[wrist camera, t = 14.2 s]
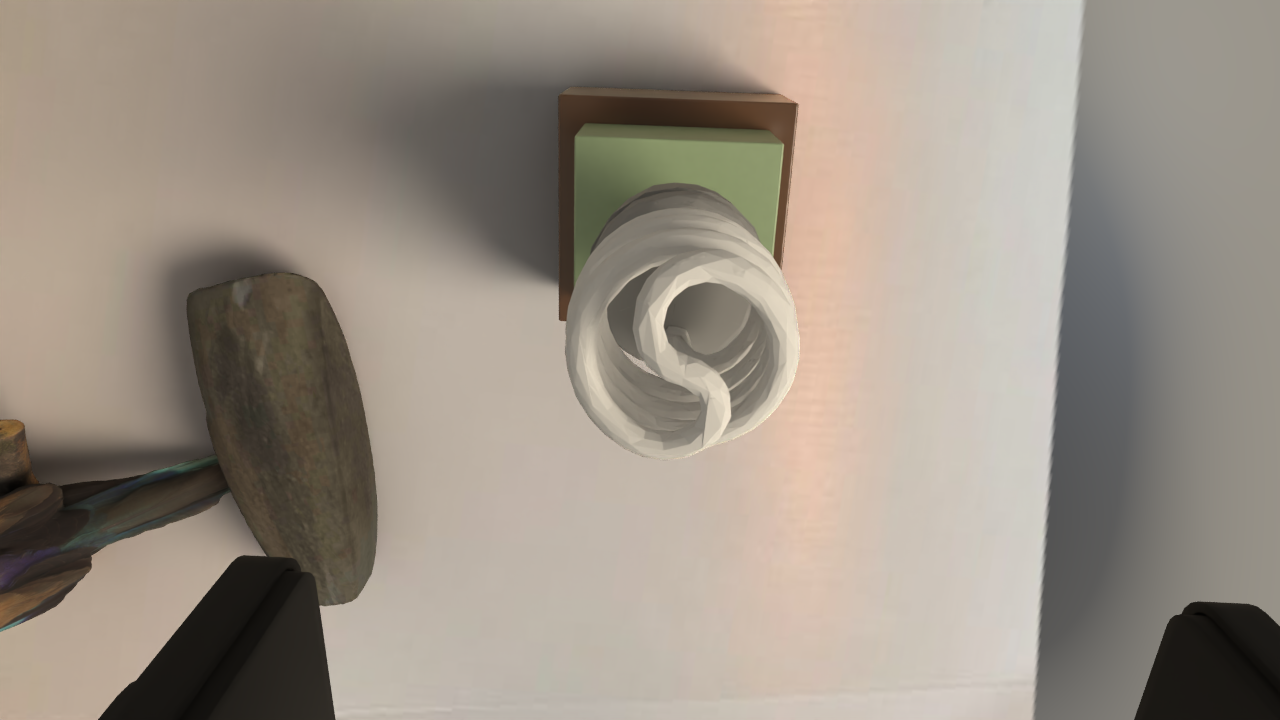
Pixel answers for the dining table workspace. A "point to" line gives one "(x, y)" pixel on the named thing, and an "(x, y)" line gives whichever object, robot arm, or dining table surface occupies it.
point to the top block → (672, 173)
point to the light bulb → (680, 325)
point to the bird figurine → (80, 521)
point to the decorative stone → (289, 424)
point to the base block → (664, 111)
